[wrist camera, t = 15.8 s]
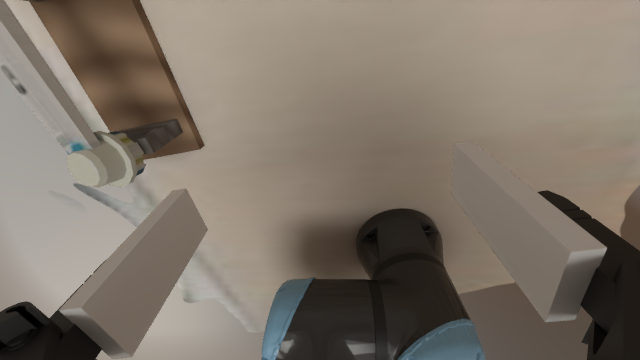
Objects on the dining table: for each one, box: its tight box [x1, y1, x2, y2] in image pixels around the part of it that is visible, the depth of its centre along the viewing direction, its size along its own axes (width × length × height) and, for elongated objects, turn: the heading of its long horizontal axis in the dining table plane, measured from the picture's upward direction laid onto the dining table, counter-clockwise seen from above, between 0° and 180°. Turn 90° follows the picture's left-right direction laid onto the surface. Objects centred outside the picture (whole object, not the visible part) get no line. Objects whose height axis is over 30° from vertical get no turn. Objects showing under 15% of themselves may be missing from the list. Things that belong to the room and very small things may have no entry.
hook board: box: [25, 0, 204, 160], centre depth 32 cm, size 26×12×9 cm, turn 11°
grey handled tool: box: [0, 0, 146, 187], centre depth 26 cm, size 5×7×25 cm
